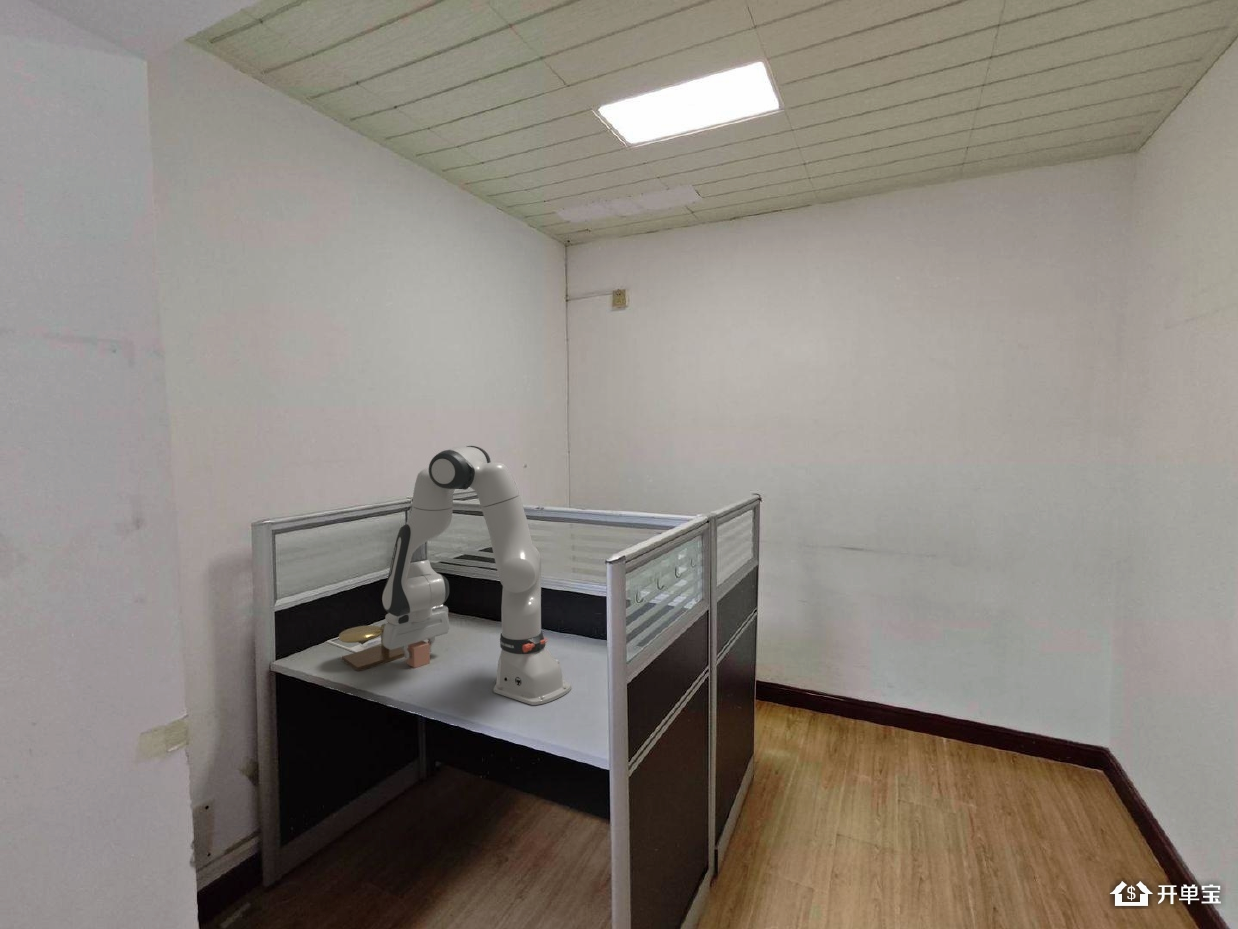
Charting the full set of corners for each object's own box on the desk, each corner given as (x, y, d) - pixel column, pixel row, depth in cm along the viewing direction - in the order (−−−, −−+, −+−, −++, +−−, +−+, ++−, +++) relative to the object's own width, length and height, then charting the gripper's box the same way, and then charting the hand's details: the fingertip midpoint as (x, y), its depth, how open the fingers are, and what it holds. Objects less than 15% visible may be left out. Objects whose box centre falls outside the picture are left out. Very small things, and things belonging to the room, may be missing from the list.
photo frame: (356, 651, 176) (326, 640, 186) (357, 655, 176) (326, 643, 186) (396, 637, 189) (366, 627, 198) (397, 640, 189) (366, 630, 198)
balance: (433, 647, 181) (432, 603, 180) (349, 674, 161) (347, 624, 160) (416, 638, 189) (415, 596, 188) (333, 662, 169) (332, 615, 169)
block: (429, 663, 169) (429, 644, 168) (414, 668, 165) (414, 648, 165) (422, 658, 172) (421, 640, 172) (406, 663, 168) (406, 644, 168)
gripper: (442, 601, 178) (443, 642, 178) (380, 616, 163) (381, 662, 163) (452, 605, 173) (453, 648, 174) (389, 621, 158) (390, 668, 159)
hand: (418, 655), depth 168 cm, fingers closed on block, 5 cm apart
